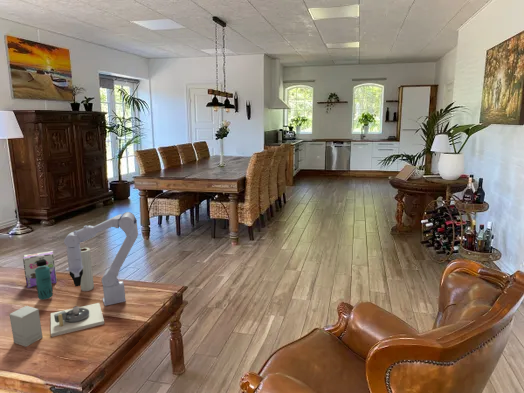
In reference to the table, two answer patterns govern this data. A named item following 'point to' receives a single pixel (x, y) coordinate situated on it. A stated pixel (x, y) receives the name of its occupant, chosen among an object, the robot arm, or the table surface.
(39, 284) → the beverage bottle
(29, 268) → the candy box
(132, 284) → the table surface
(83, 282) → the paper towel roll
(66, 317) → the flange
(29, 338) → the supplement box
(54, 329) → the base plate
